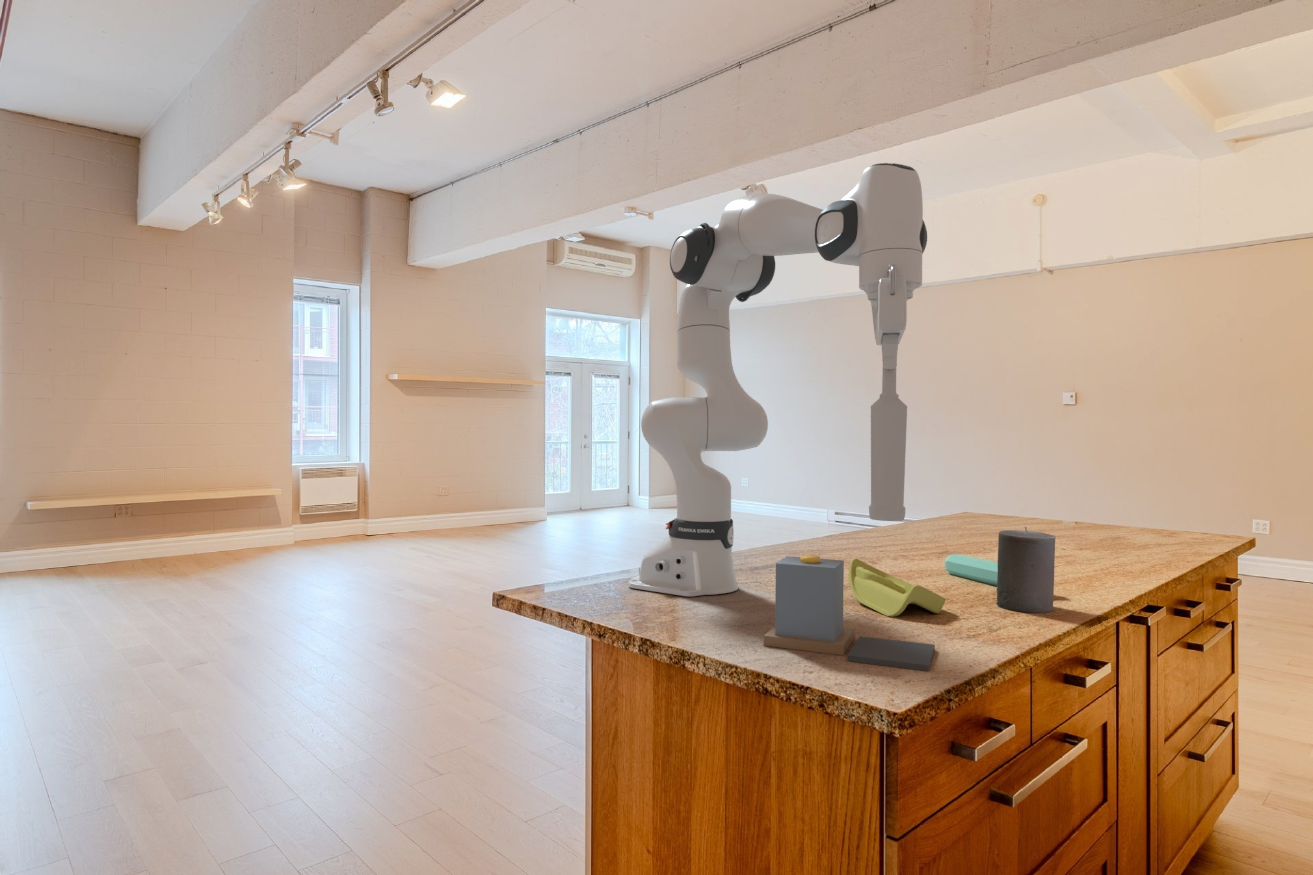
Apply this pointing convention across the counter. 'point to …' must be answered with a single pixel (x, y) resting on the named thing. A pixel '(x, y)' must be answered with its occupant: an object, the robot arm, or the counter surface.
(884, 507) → the bottle
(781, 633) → the mounted unit
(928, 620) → the counter surface
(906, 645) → the pad
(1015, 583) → the pillar candle
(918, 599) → the plastic component
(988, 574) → the mint green rod
